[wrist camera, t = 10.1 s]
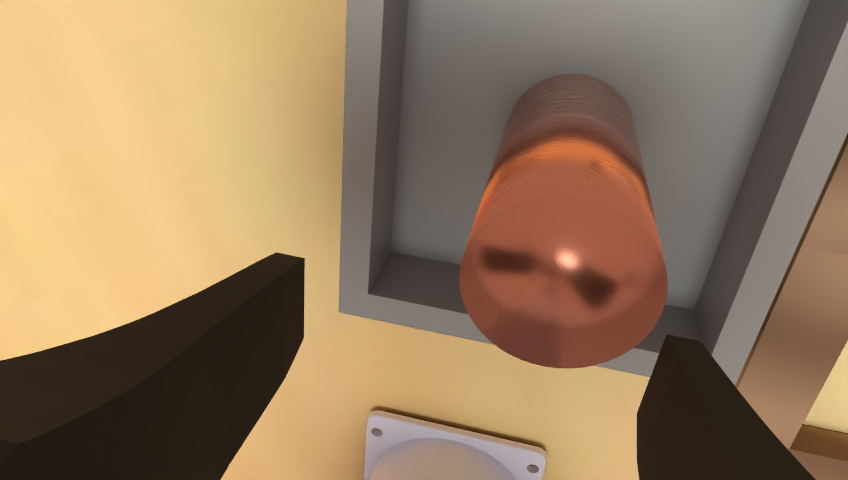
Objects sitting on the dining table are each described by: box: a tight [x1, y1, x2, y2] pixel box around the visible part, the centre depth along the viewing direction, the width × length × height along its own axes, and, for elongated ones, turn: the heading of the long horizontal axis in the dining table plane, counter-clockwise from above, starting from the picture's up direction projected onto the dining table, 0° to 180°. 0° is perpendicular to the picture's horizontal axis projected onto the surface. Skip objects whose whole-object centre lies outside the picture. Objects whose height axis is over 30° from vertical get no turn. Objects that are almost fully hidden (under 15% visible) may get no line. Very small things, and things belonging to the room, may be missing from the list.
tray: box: [339, 0, 848, 385], centre depth 19 cm, size 13×13×4 cm
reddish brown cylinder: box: [459, 74, 668, 368], centre depth 16 cm, size 4×4×9 cm
